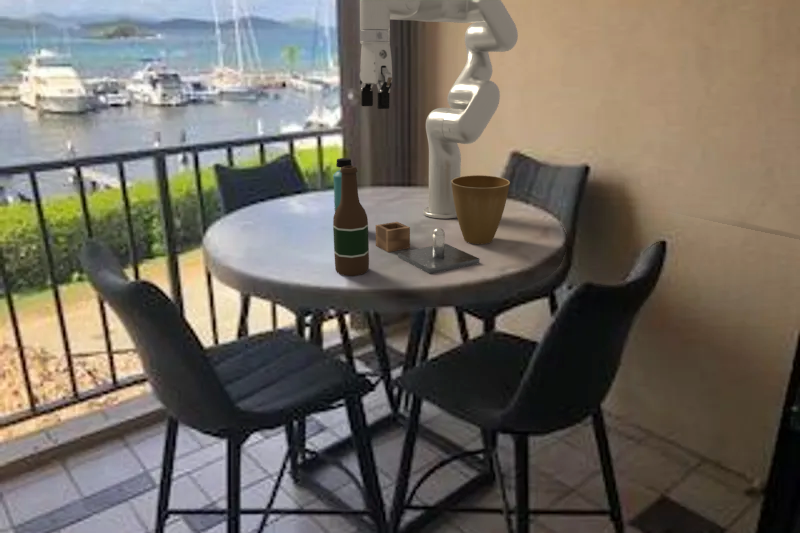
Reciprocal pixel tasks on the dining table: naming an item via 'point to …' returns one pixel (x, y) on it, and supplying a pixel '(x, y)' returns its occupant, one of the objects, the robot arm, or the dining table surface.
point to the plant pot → (479, 205)
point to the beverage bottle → (339, 180)
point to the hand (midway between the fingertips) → (375, 107)
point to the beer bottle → (350, 228)
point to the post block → (438, 255)
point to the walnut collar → (392, 236)
